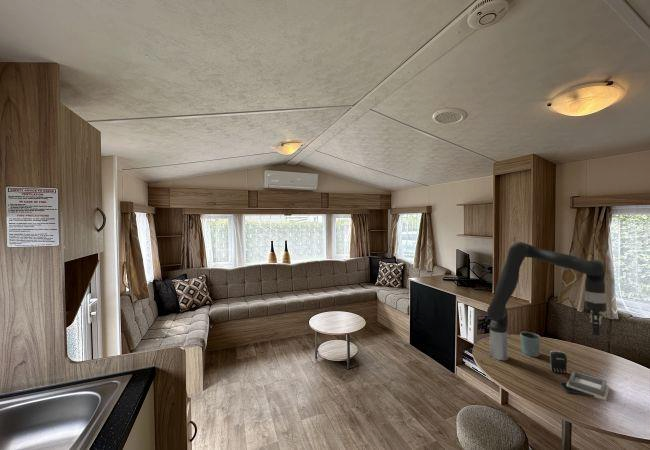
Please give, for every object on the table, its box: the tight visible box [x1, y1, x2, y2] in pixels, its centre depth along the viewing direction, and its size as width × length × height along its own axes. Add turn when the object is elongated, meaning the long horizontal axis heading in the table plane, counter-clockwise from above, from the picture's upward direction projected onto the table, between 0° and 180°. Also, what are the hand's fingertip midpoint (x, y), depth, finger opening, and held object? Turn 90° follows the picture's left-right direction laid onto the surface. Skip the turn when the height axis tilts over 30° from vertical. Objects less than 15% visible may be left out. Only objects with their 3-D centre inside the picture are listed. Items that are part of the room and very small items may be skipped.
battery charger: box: [549, 350, 568, 375], centre depth 147 cm, size 7×4×11 cm, turn 67°
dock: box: [566, 370, 610, 402], centre depth 133 cm, size 14×14×4 cm
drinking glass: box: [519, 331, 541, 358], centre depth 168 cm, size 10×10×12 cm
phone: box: [559, 382, 595, 398], centre depth 131 cm, size 8×1×15 cm
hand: (596, 332), depth 132 cm, fingers open, 8 cm apart
